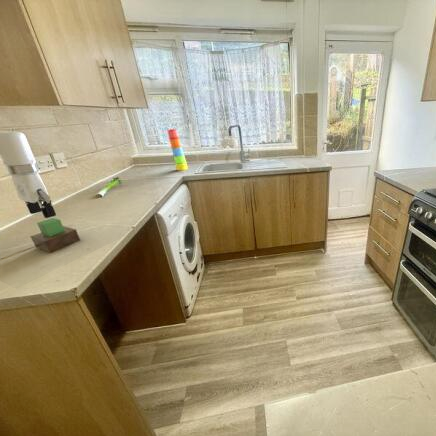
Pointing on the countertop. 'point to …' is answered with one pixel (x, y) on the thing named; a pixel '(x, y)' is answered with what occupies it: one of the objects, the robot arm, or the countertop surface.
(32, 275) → the countertop surface
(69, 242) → the walnut block
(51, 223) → the toy block
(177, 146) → the stacking cups
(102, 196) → the leek
